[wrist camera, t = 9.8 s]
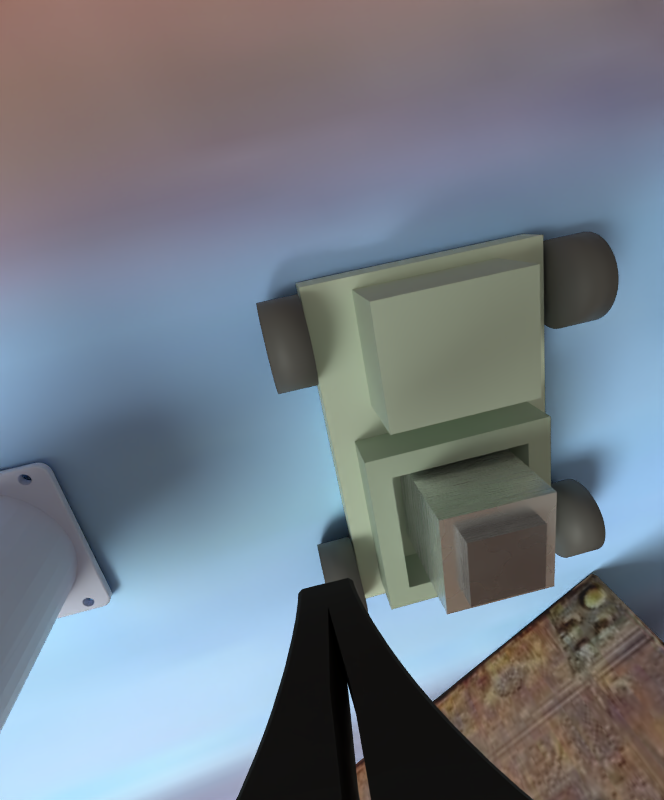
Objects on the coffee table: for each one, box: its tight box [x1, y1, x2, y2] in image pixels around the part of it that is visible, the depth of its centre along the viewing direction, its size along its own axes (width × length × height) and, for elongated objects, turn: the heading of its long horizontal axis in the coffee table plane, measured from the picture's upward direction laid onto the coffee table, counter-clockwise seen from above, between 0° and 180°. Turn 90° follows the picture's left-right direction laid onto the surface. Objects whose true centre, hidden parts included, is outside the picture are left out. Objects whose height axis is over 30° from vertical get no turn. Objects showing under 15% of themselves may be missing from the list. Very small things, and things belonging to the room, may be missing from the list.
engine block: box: [400, 449, 557, 614], centre depth 19 cm, size 4×4×6 cm
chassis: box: [256, 232, 618, 612], centre depth 20 cm, size 13×16×4 cm
